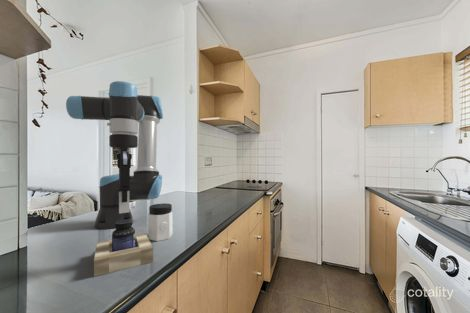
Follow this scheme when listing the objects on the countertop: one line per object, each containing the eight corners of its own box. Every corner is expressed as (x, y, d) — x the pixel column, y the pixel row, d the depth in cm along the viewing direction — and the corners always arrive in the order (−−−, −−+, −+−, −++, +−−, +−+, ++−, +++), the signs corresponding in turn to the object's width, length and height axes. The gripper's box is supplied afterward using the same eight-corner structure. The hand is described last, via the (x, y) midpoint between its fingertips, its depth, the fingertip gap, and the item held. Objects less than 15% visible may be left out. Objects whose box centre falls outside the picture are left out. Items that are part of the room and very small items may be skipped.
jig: (97, 252, 65) (97, 239, 65) (144, 242, 73) (144, 231, 73) (93, 276, 51) (93, 260, 51) (152, 261, 59) (152, 247, 59)
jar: (150, 243, 72) (150, 209, 72) (146, 236, 79) (146, 205, 79) (175, 237, 77) (175, 205, 77) (169, 231, 84) (169, 202, 84)
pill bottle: (138, 258, 61) (138, 221, 61) (116, 266, 57) (116, 226, 57) (130, 252, 65) (130, 217, 65) (109, 258, 61) (109, 221, 61)
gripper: (109, 136, 65) (109, 209, 65) (109, 131, 54) (109, 219, 54) (135, 137, 69) (135, 206, 69) (140, 133, 58) (140, 215, 58)
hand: (124, 212), depth 62 cm, fingers closed
